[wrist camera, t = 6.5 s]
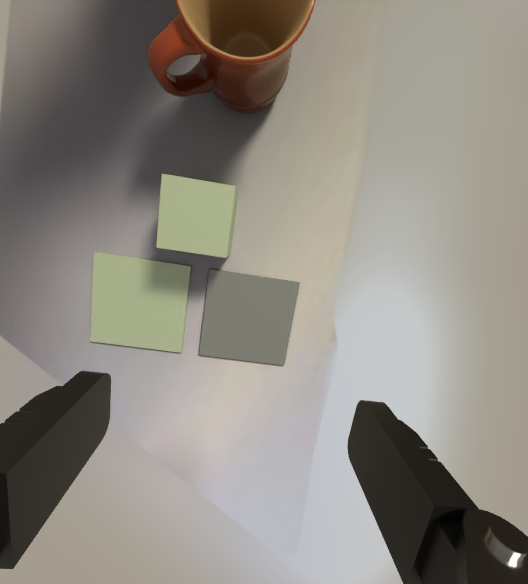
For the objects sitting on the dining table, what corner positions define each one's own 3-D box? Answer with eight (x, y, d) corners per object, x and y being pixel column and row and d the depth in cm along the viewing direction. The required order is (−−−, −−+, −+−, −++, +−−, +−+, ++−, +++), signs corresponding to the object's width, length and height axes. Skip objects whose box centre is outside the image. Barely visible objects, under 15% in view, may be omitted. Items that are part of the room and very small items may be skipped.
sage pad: (95, 251, 29) (93, 251, 29) (191, 266, 30) (190, 266, 29) (91, 340, 31) (90, 341, 30) (181, 351, 32) (181, 352, 31)
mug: (261, 1, 25) (270, -154, 15) (308, 94, 27) (343, 11, 17) (153, 74, 26) (92, -26, 16) (205, 160, 28) (180, 119, 18)
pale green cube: (179, 186, 28) (161, 173, 22) (238, 196, 29) (235, 186, 23) (174, 244, 29) (156, 247, 23) (230, 253, 30) (226, 257, 24)
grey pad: (209, 268, 30) (209, 269, 30) (299, 282, 31) (299, 282, 30) (199, 353, 32) (198, 354, 32) (283, 364, 33) (284, 365, 32)
